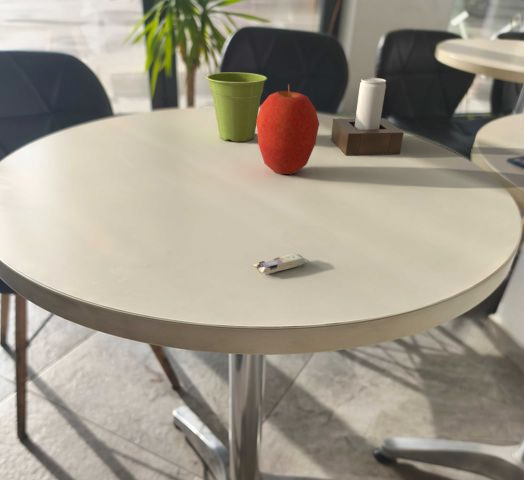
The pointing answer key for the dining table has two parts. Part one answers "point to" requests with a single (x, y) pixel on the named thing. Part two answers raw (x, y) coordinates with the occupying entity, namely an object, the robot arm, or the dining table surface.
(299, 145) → the apple
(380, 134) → the holder
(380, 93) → the beverage can
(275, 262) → the granola bar
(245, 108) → the plant pot
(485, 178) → the dining table surface
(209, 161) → the dining table surface
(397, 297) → the dining table surface
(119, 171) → the dining table surface
